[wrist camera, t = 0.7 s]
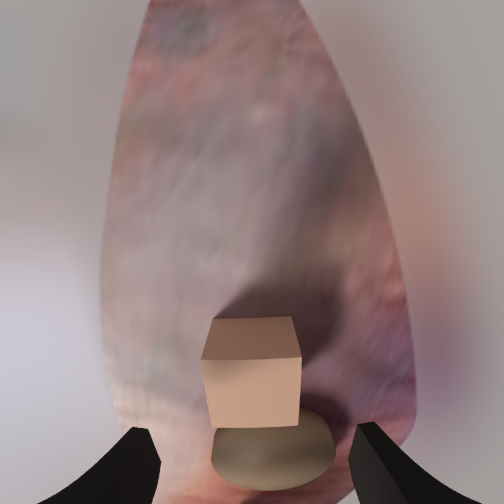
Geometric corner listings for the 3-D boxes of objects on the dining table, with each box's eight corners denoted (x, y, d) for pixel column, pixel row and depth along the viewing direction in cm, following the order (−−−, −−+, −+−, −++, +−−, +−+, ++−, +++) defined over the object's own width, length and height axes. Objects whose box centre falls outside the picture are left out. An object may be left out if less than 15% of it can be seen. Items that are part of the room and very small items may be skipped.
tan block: (289, 377, 16) (298, 425, 12) (219, 379, 16) (211, 427, 12) (291, 315, 15) (301, 357, 11) (213, 317, 15) (200, 360, 11)
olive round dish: (323, 466, 18) (327, 485, 16) (220, 471, 19) (218, 490, 17) (336, 395, 17) (343, 416, 15) (207, 402, 17) (203, 423, 15)
